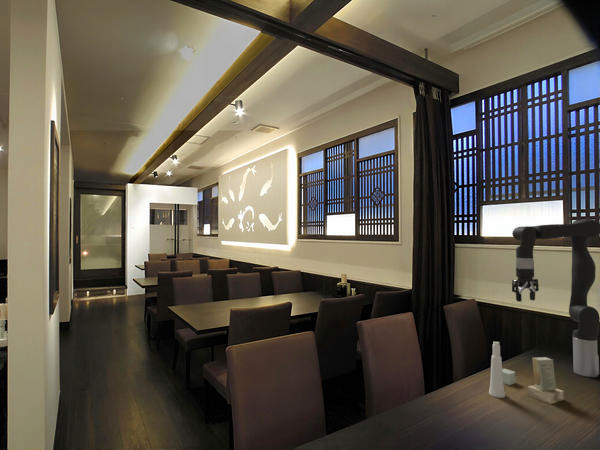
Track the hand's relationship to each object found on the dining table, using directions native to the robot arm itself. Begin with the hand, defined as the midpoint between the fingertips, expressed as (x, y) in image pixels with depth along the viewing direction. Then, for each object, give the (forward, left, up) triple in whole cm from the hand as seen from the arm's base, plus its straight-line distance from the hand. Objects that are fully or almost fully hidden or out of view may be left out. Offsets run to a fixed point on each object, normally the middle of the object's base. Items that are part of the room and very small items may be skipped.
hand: (525, 300), depth 171 cm
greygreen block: (+16, +4, -36) cm, 39 cm away
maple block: (+14, +21, -36) cm, 44 cm away
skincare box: (+15, +21, -32) cm, 41 cm away
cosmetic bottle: (+31, +13, -36) cm, 49 cm away
